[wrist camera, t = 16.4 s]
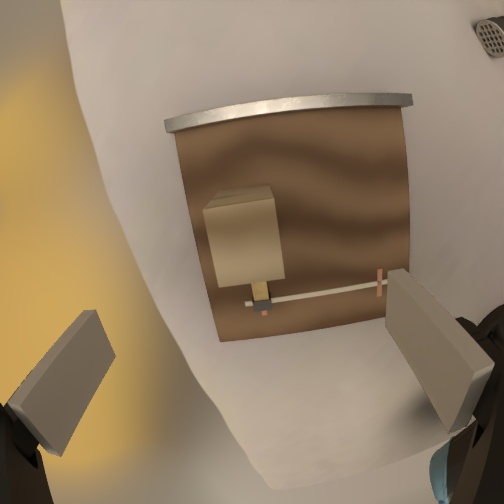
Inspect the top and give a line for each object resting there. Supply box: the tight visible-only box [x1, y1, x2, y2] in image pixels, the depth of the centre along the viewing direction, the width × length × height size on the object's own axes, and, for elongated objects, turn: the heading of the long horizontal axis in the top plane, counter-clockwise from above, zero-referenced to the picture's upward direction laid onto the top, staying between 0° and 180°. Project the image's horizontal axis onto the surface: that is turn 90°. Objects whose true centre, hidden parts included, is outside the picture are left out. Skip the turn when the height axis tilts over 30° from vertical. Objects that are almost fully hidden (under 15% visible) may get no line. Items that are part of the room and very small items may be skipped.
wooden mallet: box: [203, 183, 285, 312], centre depth 28 cm, size 13×5×10 cm, turn 9°
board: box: [164, 93, 413, 342], centre depth 30 cm, size 26×24×4 cm
